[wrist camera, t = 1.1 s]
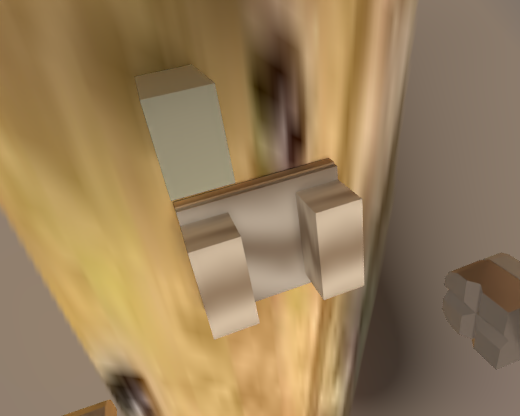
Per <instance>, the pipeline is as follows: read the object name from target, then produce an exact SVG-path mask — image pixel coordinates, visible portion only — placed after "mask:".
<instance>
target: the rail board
mask: <svg viewBox="0 0 520 416" xmlns="http://www.w3.org/2000/svg"><path fill="white" fill-rule="evenodd" d="M173 204H174V207H175V211H176V214H177V217H178V221H179V224H180V227H181V231H182V234H183V238H184V242H185V245H186V249H187V252H188V256H189V259H190V262H191V265H192V269H193V272H194V275H195V278H196V282H197V285H198V288H199V291H200V295H201V298H202V301H203V304H204V308H205V311H206V314H207V317H208V321H209V324H210V327H211V330H212V334H213V337H214V340H215V339H217V338H220V337H223V336H226V335H229V334H231V333H234V332H237V331H240V330H242V329H245V328H248V327H251V326H253V325H256V324H259V323H260V322H259V318H258V313H257V309H256V304H255V302H256V301H259V300H262V299H265V298H267V297H270V296H273V295H276V294H279V293H282V292H285V291H287V290H290V289H293V288H296V287H299V286H302V285H305V284H308V283H310V282H312V284H313V285H314V287H315V288H316V290H317V291H318V292H319V294H320V295H321V297H322V298H323V300H325V299H328V298H331V297H334V296H337V295H339V294H342V293H345V292H348V291H350V290H353V289H356V288H359V287H361V286H364V257H363V216H362V198H360V197H359V196H358V195H357V194H355V193H354V192H353V191H351V190H350V189H349V188H348V187H346V186H345V185H344V184H343V183H341V182H340V181H339V180H338V175H337V166H336V165H335V164H334V162H333V161H332V160H331V159H329V158H328V159H324V160H321V161H317V162H314V163H310V164H306V165H303V166H299V167H296V168H292V169H289V170H285V171H282V172H278V173H275V174H271V175H268V176H264V177H261V178H257V179H253V180H250V181H246V182H243V183H239V184H236V185H232V186H229V187H225V188H222V189H218V190H215V191H211V192H208V193H204V194H201V195H197V196H193V197H190V198H186V199H183V200H179V201H176V202H173Z"/></svg>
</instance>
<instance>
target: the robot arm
mask: <svg viewBox="0 0 520 416" xmlns="http://www.w3.org/2000/svg"><path fill="white" fill-rule="evenodd" d="M444 285H445V287H446V288H448V292H447V293H446V295H445V296H444V298H443V306H442V310H443V312H444V315H445V318H446V320H447V321H448V323H449V324H450V325H451V327H452V328H453V329H454V330H455V331H456V332H457V333H458V334H459V335H461V336H464V337H467V338H470V339H472V343H473V348H474V349H475V350H476V351H477V352H478V353H479V354H480V355H481V356H482V357H483V358H484V359H485V360H486V361H487V362H488V363H489V364H491V365H492V366H493V367H494V368H495V369H496V370H497V369H499V368H502V367H504V366H507V365H509V364H511V363H514V362H516V361H519V360H520V261H518V260H517V259H515V258H514V257H512V256H510V255H508V254H505V253H498V254H496V255H493V256H490V257H488V258H485V259H483V260H479V261H476V262H474V263H471V264H469V265H466V266H463V267H461V268H458V269H456V270H453V271H451V272H449V273H448V274H447V275H446V277H445V282H444ZM63 416H117V409H116V407H115V405H114V404H113V402H112V401H111V400H107V401H103V402H101V403H98V404H95V405H92V406H89V407H86V408H83V409H80V410H78V411H75V412H72V413H69V414H66V415H63Z"/></svg>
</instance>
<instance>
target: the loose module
mask: <svg viewBox="0 0 520 416" xmlns="http://www.w3.org/2000/svg"><path fill="white" fill-rule="evenodd" d="M135 81H136V85H137V90H138V95H139V99H140V103H141V106H142V109H143V112H144V116H145V119H146V122H147V125H148V129H149V132H150V135H151V138H152V142H153V145H154V148H155V151H156V155H157V158H158V161H159V164H160V167H161V171H162V174H163V177H164V180H165V184H166V187H167V190H168V193H169V197H170V200H171V201H173V200H177V199H180V198H184V197H187V196H191V195H194V194H198V193H202V192H205V191H209V190H212V189H216V188H219V187H223V186H226V185H230V184H233V183H235V178H234V173H233V169H232V164H231V159H230V154H229V149H228V144H227V140H226V135H225V130H224V125H223V120H222V115H221V111H220V106H219V101H218V96H217V91H216V86H215V83H214V82H213V81H212V80H210V79H209V78H208V77H207V76H205V75H204V74H203V73H202V72H200V71H199V70H198V69H197V68H195V67H194V66H193V65H192V64H191V65H186V66H181V67H177V68H172V69H167V70H163V71H158V72H153V73H149V74H144V75H139V76H135Z"/></svg>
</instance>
